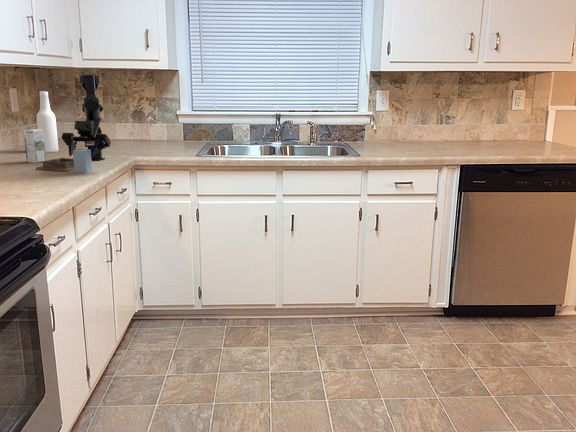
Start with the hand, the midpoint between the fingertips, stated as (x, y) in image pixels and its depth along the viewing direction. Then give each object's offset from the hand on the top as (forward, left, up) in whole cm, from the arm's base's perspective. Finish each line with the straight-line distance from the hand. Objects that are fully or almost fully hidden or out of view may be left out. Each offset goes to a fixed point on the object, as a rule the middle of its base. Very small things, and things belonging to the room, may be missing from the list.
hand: (80, 156), depth 206 cm
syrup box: (-16, -34, -7) cm, 39 cm away
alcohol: (-47, -51, -7) cm, 70 cm away
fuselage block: (-1, 0, -7) cm, 7 cm away
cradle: (-6, -13, -7) cm, 16 cm away
